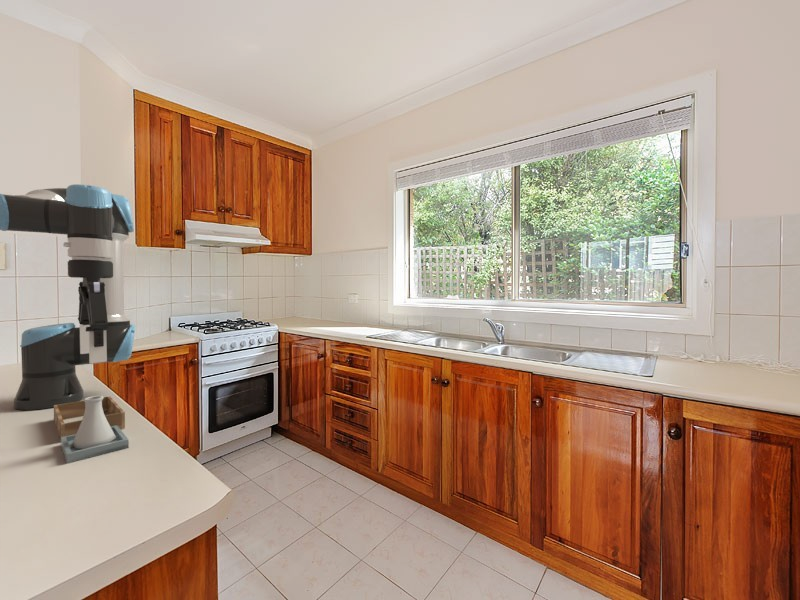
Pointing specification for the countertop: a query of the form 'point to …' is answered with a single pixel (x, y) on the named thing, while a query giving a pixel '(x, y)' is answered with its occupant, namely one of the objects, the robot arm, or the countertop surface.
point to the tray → (79, 454)
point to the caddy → (78, 410)
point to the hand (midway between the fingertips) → (92, 357)
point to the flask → (93, 426)
